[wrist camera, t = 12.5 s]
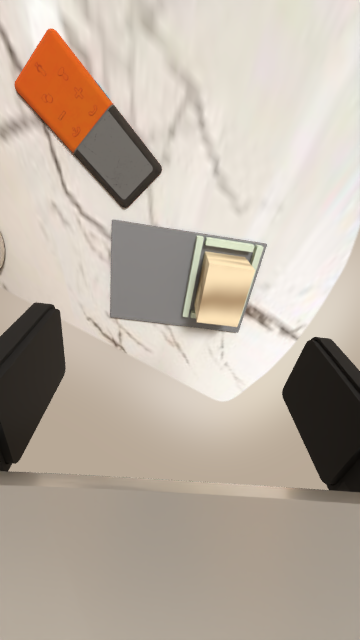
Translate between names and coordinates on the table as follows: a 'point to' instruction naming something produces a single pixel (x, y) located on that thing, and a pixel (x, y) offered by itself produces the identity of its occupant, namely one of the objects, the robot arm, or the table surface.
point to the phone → (86, 119)
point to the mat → (167, 272)
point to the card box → (222, 289)
